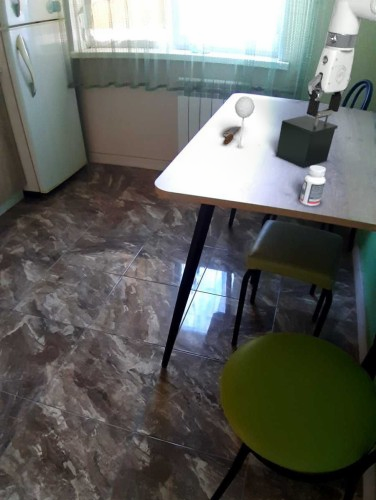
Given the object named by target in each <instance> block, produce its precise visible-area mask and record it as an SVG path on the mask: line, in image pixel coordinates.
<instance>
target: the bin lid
mask: <svg viewBox="0 0 376 500" xmlns="http://www.w3.org/2000/svg"><path fill="white" fill-rule="evenodd" d="M333 112H334V111H332V109H331V108H323V109H318V112H317V116H316V117H313V116H310V115H308V114H306V115H301V116H296V117H293V118H288V119H284V120H283V119H282V120H281V125H282V124H285V125H287V126H290V127H293V128H296V129H298V130H301V131H304V132H306V133H309V134H312V135H314V134H318V133H322V132H326V131H330V130H334V129H335V130H337V129H338V127H339V125H337V124H334V123H331V122H329V120H330V117H331V116H332V115H333ZM322 118H324V120H322Z"/></svg>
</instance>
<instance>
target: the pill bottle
mask: <svg viewBox="0 0 376 500" xmlns="http://www.w3.org/2000/svg"><path fill="white" fill-rule="evenodd" d="M326 171H327V168H326V167H324V166H322V165H319V164H316V165H312V166H309V167H308V174H306V175H305V177H304V179H303V183H302V187H301V192H300V196H299V202H300V203H301V204H303V205H304V206H305V205H306V206H309V207H316V206H318V205H320V203H321V200H322V196H323V192H324V188H325V185H326V181H327V180H326V177H325V174H326Z"/></svg>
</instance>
